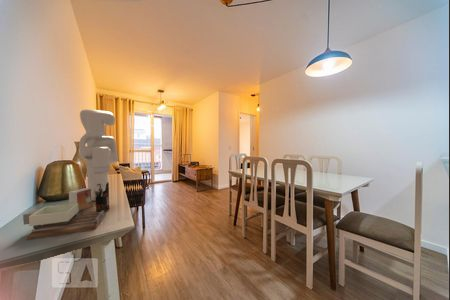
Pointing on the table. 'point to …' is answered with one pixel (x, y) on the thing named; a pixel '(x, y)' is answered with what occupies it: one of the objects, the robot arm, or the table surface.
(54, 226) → the rail board
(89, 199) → the small box
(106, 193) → the deodorant
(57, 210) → the white open tray
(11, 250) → the table surface
